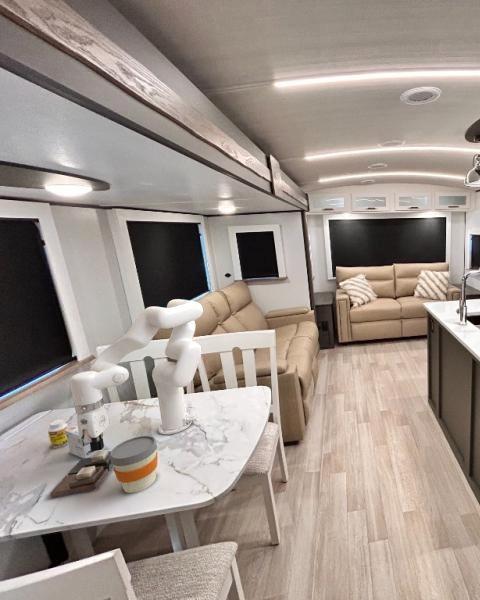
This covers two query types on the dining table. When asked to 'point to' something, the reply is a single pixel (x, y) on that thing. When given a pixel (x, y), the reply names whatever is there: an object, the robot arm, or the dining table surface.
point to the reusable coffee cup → (135, 463)
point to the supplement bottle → (57, 433)
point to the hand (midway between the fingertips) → (97, 449)
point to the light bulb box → (78, 443)
